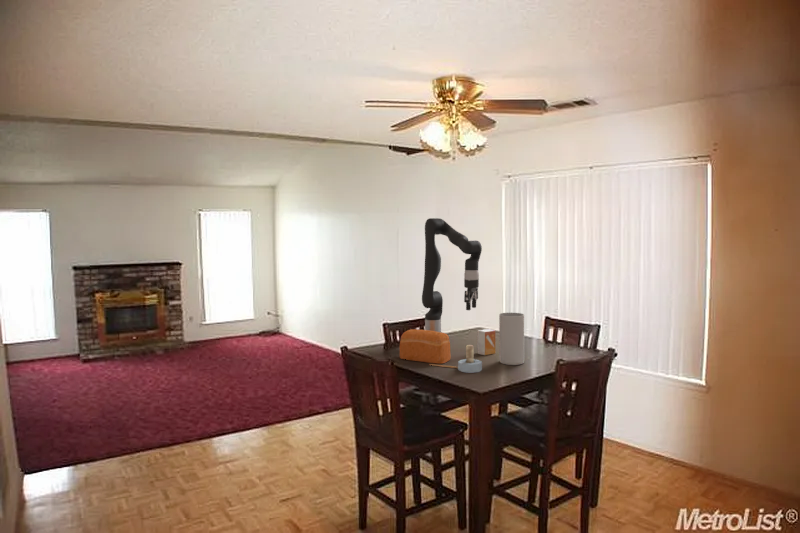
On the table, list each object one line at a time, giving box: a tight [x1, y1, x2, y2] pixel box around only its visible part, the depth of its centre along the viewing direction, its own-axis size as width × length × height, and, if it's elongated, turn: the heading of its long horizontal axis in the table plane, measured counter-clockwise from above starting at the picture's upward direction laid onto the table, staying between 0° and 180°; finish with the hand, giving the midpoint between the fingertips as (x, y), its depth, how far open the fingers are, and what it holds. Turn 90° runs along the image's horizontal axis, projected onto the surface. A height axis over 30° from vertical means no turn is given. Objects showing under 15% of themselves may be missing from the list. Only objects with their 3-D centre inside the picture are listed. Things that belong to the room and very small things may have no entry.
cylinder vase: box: [498, 312, 525, 366], centre depth 282 cm, size 12×12×25 cm
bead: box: [457, 358, 483, 374], centre depth 270 cm, size 11×11×4 cm
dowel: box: [465, 344, 475, 363], centre depth 269 cm, size 4×4×12 cm
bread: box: [399, 328, 452, 365], centre depth 292 cm, size 14×26×16 cm, turn 58°
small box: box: [476, 328, 496, 356], centre depth 303 cm, size 8×6×13 cm
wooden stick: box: [428, 363, 458, 369], centre depth 276 cm, size 17×1×1 cm, turn 63°
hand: (471, 308), depth 290 cm, fingers open, 8 cm apart
